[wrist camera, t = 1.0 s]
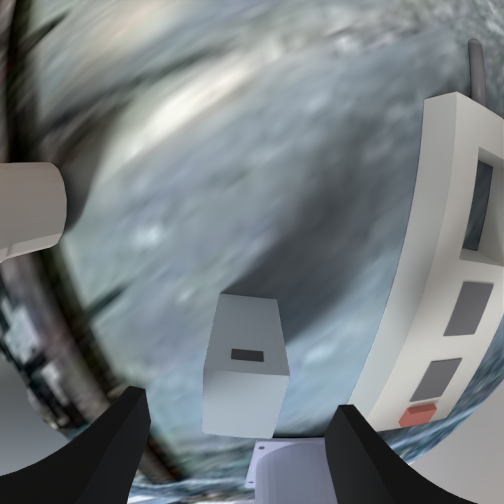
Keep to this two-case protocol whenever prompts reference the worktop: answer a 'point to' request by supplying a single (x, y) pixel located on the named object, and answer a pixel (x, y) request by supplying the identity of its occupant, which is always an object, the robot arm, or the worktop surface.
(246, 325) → the block
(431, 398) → the power strip
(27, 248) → the toilet paper hanger
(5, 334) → the worktop surface
